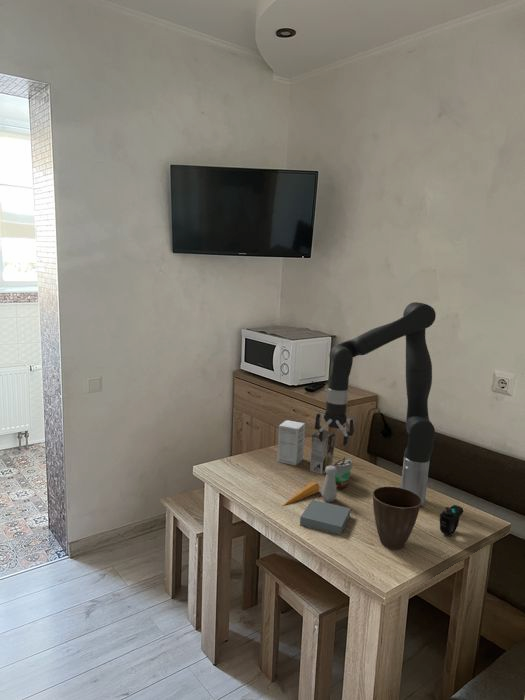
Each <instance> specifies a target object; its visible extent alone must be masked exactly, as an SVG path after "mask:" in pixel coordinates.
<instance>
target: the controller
mask: <svg viewBox="0 0 525 700" xmlns="http://www.w3.org/2000/svg"><path fill="white" fill-rule="evenodd" d="M463 513H464V508H463V507H461V506H459V505H456V504H453V505H451V506H450V507H448V506H446V507H445V508H444V510H443V511H442V512H440V514H439V530H440V531H441V533H442V534H444V535H446V536H449V535H450V536H452V534H453V535H454V533H456V531H457V528H458V526H459V522H460V517H461V516H462V515H463Z"/></svg>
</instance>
